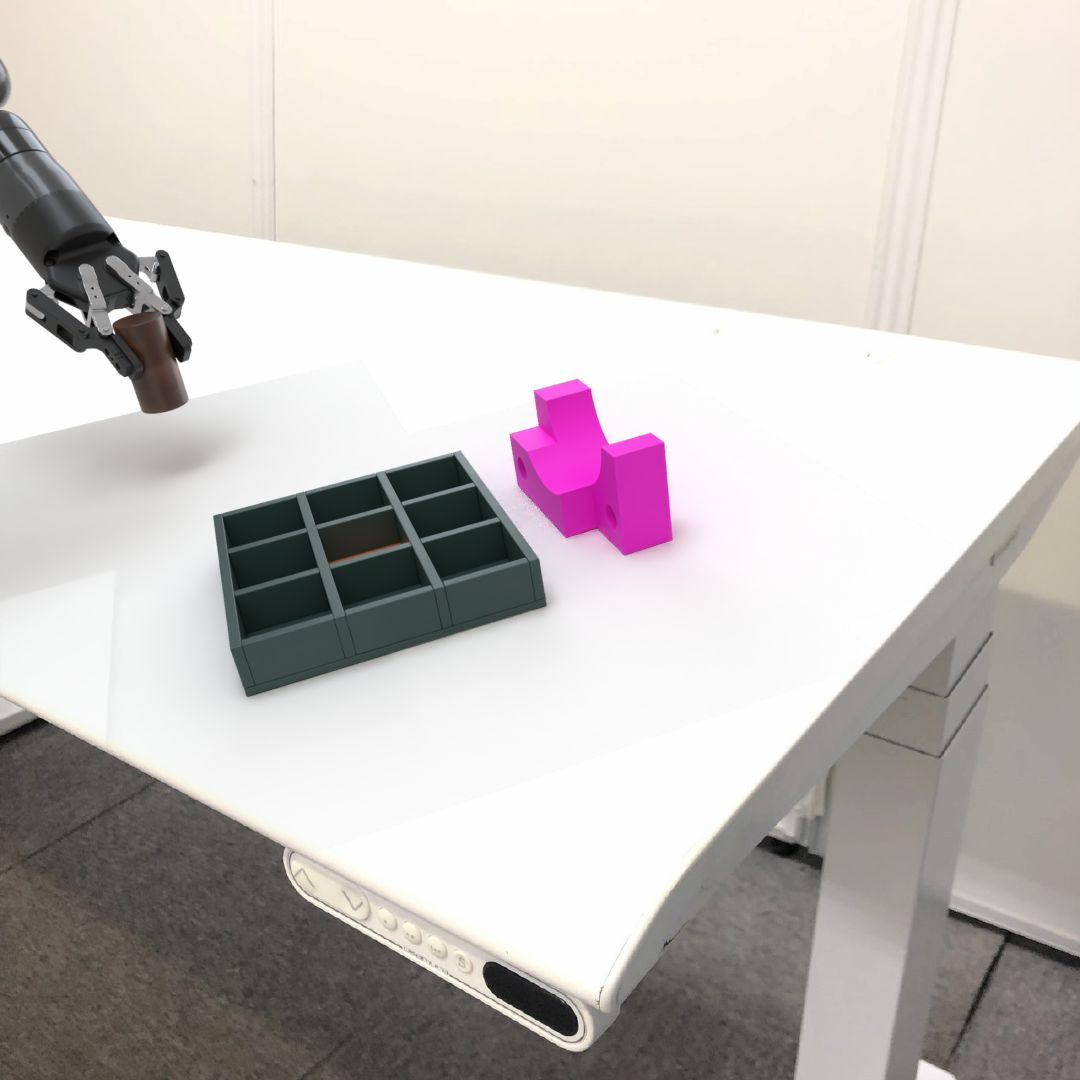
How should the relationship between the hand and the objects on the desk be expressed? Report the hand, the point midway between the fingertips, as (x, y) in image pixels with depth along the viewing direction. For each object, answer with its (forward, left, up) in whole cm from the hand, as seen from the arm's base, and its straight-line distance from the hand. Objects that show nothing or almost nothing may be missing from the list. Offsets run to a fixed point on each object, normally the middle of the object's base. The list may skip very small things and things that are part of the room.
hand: (162, 364), depth 90 cm
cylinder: (-1, +2, -4) cm, 5 cm away
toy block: (+28, -27, -11) cm, 41 cm away
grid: (+11, -28, -10) cm, 32 cm away
